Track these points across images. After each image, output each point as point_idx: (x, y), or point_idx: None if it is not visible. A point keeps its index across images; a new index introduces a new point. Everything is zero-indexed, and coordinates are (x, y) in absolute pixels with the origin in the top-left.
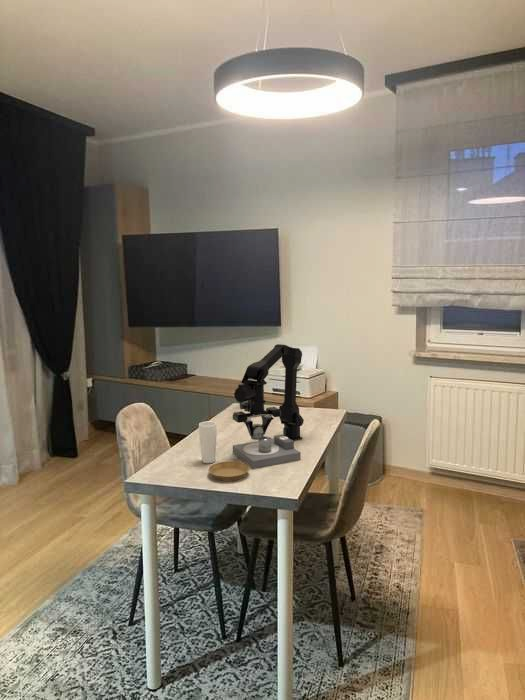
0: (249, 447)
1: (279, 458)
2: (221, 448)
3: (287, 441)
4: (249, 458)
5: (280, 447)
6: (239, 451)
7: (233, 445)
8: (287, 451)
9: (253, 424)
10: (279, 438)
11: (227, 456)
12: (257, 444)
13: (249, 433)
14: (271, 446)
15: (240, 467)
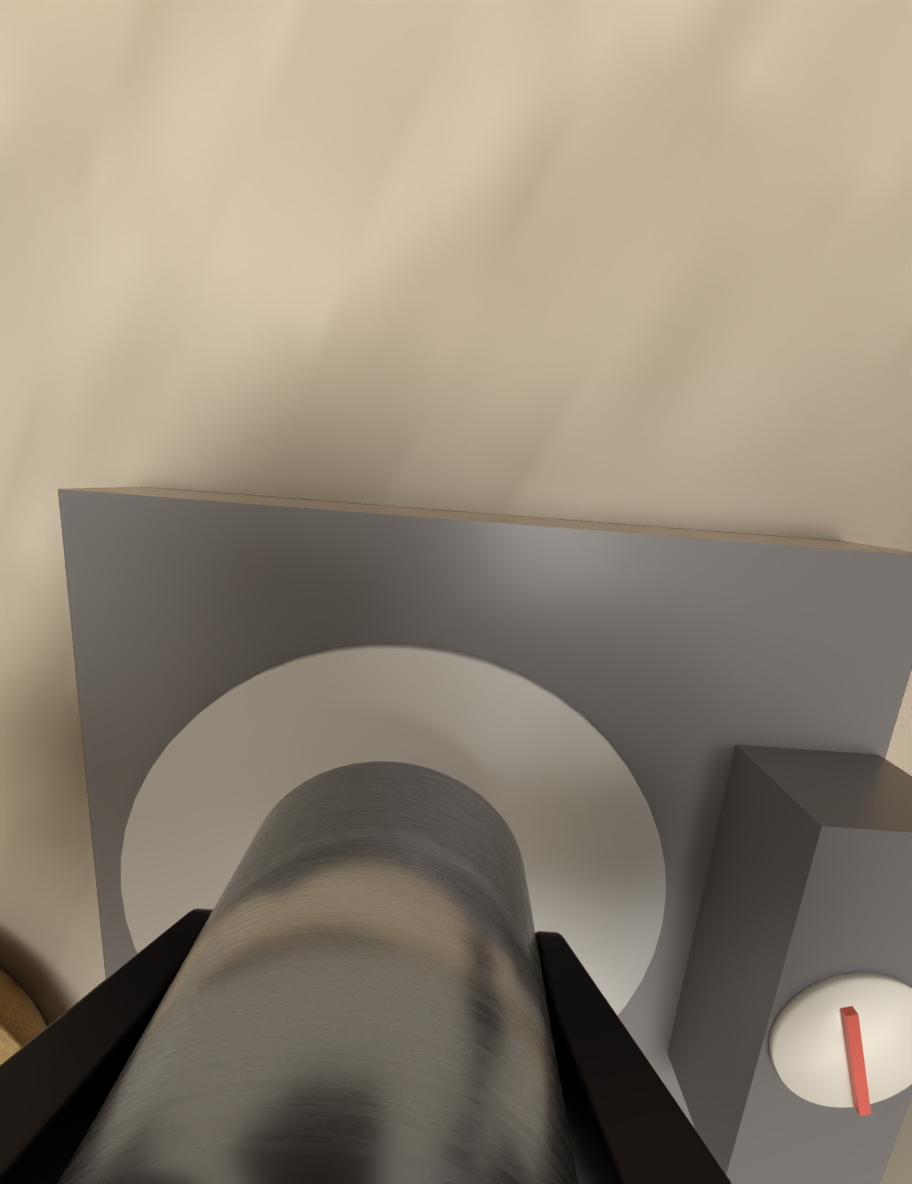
0: (250, 792)
1: None
2: (35, 204)
3: (783, 1172)
4: None
5: (673, 953)
6: (97, 764)
7: (71, 506)
8: None
9: (228, 1176)
10: (783, 1007)
11: (27, 588)
12: (431, 739)
13: (126, 983)
14: (568, 916)
15: (30, 1021)
